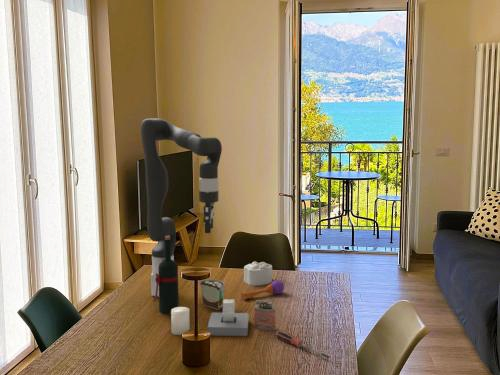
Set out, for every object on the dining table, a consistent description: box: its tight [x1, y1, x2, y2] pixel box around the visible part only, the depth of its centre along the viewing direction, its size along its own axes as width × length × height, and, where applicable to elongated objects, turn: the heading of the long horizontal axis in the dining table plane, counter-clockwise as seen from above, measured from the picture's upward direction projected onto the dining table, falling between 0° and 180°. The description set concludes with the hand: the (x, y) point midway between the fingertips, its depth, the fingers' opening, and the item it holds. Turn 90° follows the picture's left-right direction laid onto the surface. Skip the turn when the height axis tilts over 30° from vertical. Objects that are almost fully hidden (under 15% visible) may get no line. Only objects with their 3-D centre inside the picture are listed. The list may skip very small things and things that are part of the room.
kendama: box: [240, 280, 285, 301], centre depth 230 cm, size 6×6×20 cm
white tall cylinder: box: [222, 298, 236, 323], centre depth 195 cm, size 4×4×10 cm
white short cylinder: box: [170, 306, 191, 336], centre depth 191 cm, size 6×6×8 cm
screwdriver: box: [275, 330, 331, 359], centre depth 178 cm, size 25×3×3 cm, turn 39°
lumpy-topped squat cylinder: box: [243, 261, 273, 287], centre depth 250 cm, size 10×13×9 cm
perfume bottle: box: [253, 299, 276, 331], centre depth 195 cm, size 8×3×10 cm, turn 71°
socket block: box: [206, 312, 250, 337], centre depth 195 cm, size 14×14×3 cm
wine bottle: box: [152, 236, 180, 315], centre depth 210 cm, size 8×10×30 cm
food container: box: [199, 278, 226, 311], centre depth 217 cm, size 12×6×10 cm, turn 47°
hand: (209, 230), depth 209 cm, fingers open, 8 cm apart
